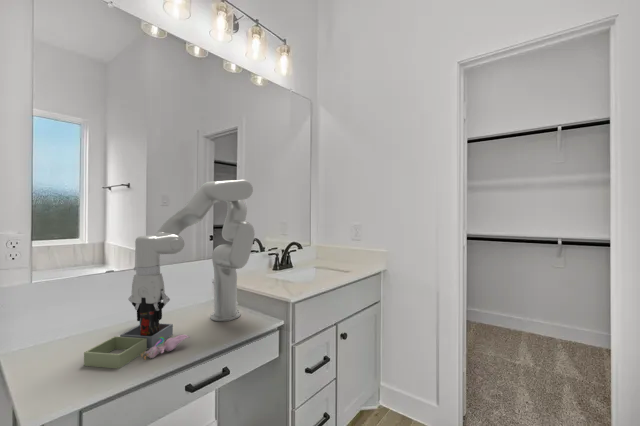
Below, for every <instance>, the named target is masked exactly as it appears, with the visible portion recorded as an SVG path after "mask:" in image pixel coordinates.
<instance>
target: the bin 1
mask: <svg viewBox="0 0 640 426" xmlns="http://www.w3.org/2000/svg"><path fill="white" fill-rule="evenodd" d="M114 350H122V352H120V353H112V351H114ZM123 350H124V351H123ZM144 351H148V349H147V338H133V337H120V336H119V335H118V336H117V335H116V336H115V335H114V336H113V337H111V338H109V339H106V340H105V341H103V342H101V343H100V344H97V345H96V346H93V347H92V348H90V349H88V350H86V351H84V352H83V366H84V367H94V368H95V367H96V368H106V369H107V368H108V369H121V368H123V367H124V366H125V364H126V365H127V364H129V363H130V362H132V361H133V360H134V359H136V358H137V357H139V356H141V354H143V352H144ZM110 352H111V353H110Z"/></svg>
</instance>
